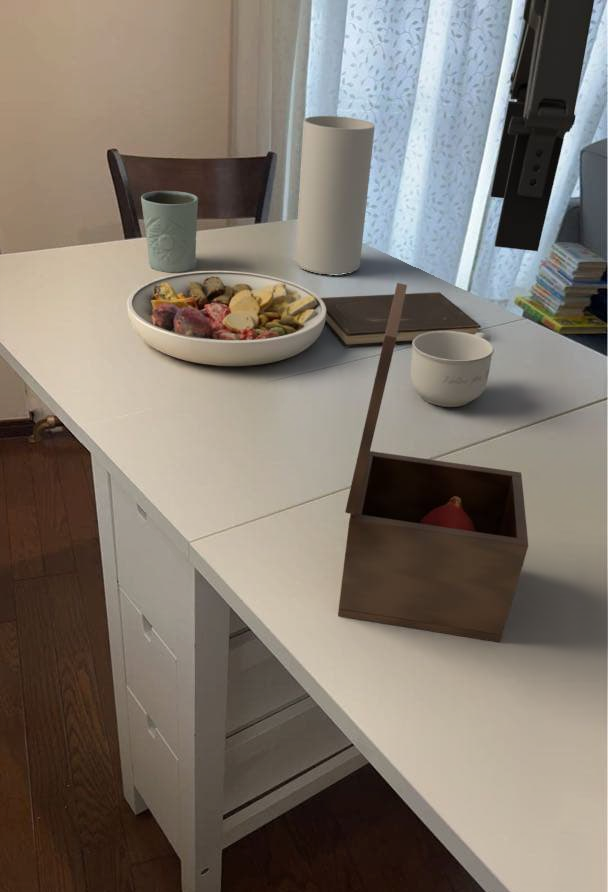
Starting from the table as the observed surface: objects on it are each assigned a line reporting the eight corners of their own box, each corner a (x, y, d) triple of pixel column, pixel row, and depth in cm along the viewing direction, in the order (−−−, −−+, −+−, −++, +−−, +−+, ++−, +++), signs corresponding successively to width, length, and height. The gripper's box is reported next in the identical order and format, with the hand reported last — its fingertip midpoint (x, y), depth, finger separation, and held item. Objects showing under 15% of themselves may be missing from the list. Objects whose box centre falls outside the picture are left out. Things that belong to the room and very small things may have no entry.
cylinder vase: (326, 281, 147) (338, 131, 132) (281, 262, 154) (288, 118, 140) (372, 269, 154) (389, 126, 140) (328, 252, 162) (339, 114, 147)
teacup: (442, 422, 105) (453, 365, 100) (388, 390, 112) (396, 335, 107) (513, 399, 112) (527, 345, 107) (459, 370, 119) (469, 318, 114)
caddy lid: (407, 284, 66) (397, 282, 66) (396, 337, 57) (384, 335, 57) (369, 446, 76) (360, 444, 76) (354, 515, 66) (344, 512, 66)
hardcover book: (478, 339, 129) (481, 325, 128) (345, 348, 123) (346, 333, 122) (436, 303, 141) (438, 290, 140) (313, 310, 135) (314, 296, 134)
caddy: (497, 563, 81) (521, 472, 75) (500, 642, 72) (528, 545, 65) (352, 541, 82) (364, 449, 76) (337, 616, 73) (349, 518, 67)
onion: (401, 564, 79) (421, 486, 77) (457, 576, 79) (478, 498, 78) (411, 578, 73) (432, 493, 72) (471, 591, 73) (494, 507, 72)
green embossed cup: (164, 277, 143) (161, 207, 136) (133, 261, 149) (129, 193, 142) (210, 267, 149) (209, 199, 142) (178, 253, 155) (176, 187, 148)
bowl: (183, 288, 139) (182, 242, 135) (347, 320, 132) (352, 272, 128) (91, 350, 116) (86, 296, 111) (284, 392, 109) (287, 337, 104)
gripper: (516, -157, 54) (460, 177, 67) (542, -227, 34) (456, 267, 47) (629, -150, 54) (551, 186, 66) (722, -217, 34) (585, 282, 46)
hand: (511, 220), depth 57 cm, fingers open, 13 cm apart
